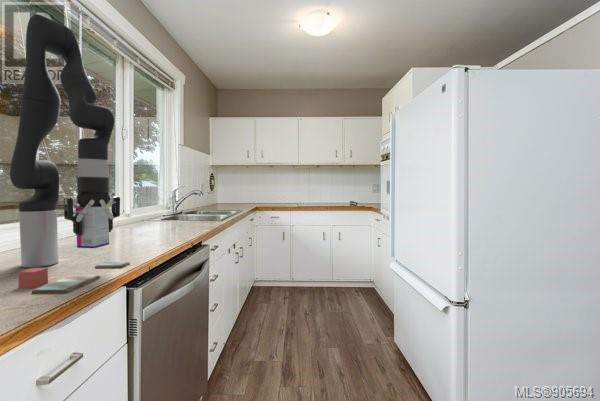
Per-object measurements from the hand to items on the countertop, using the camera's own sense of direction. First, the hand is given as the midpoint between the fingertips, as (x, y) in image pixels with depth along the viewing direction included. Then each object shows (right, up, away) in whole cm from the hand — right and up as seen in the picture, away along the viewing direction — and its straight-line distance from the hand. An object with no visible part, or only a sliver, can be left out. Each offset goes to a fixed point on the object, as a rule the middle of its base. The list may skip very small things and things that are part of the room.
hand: (93, 233), depth 91 cm
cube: (-6, -10, -11) cm, 16 cm away
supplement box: (0, -4, 0) cm, 4 cm away
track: (+1, -12, -3) cm, 12 cm away
